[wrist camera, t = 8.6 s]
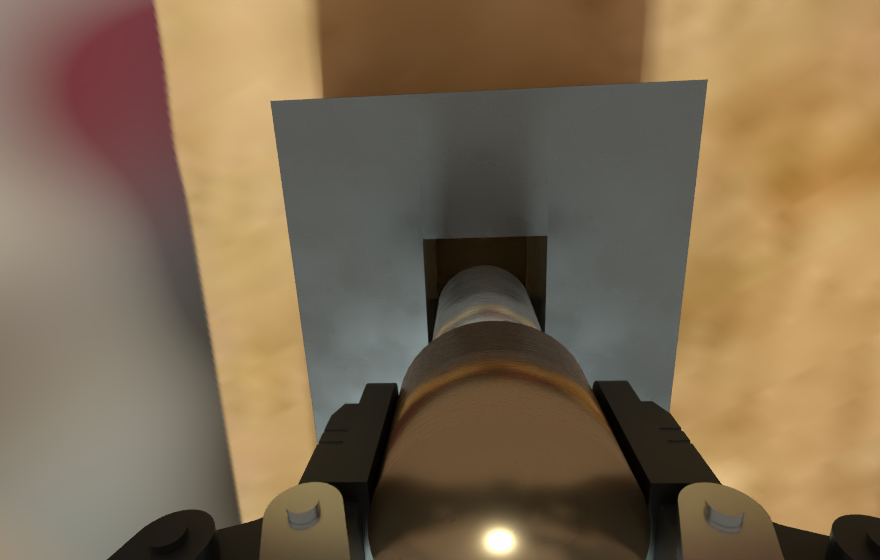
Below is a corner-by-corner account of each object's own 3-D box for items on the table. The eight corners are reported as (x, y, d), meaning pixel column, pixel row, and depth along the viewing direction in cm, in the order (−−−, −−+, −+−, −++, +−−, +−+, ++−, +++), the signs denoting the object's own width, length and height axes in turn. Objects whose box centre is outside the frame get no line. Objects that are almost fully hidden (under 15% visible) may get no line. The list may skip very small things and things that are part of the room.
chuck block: (640, 94, 24) (707, 79, 17) (618, 381, 28) (664, 458, 22) (324, 109, 25) (270, 101, 18) (353, 383, 29) (319, 457, 23)
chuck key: (547, 248, 18) (664, 417, 7) (544, 364, 19) (638, 644, 9) (419, 251, 18) (355, 418, 8) (426, 365, 19) (379, 638, 9)
